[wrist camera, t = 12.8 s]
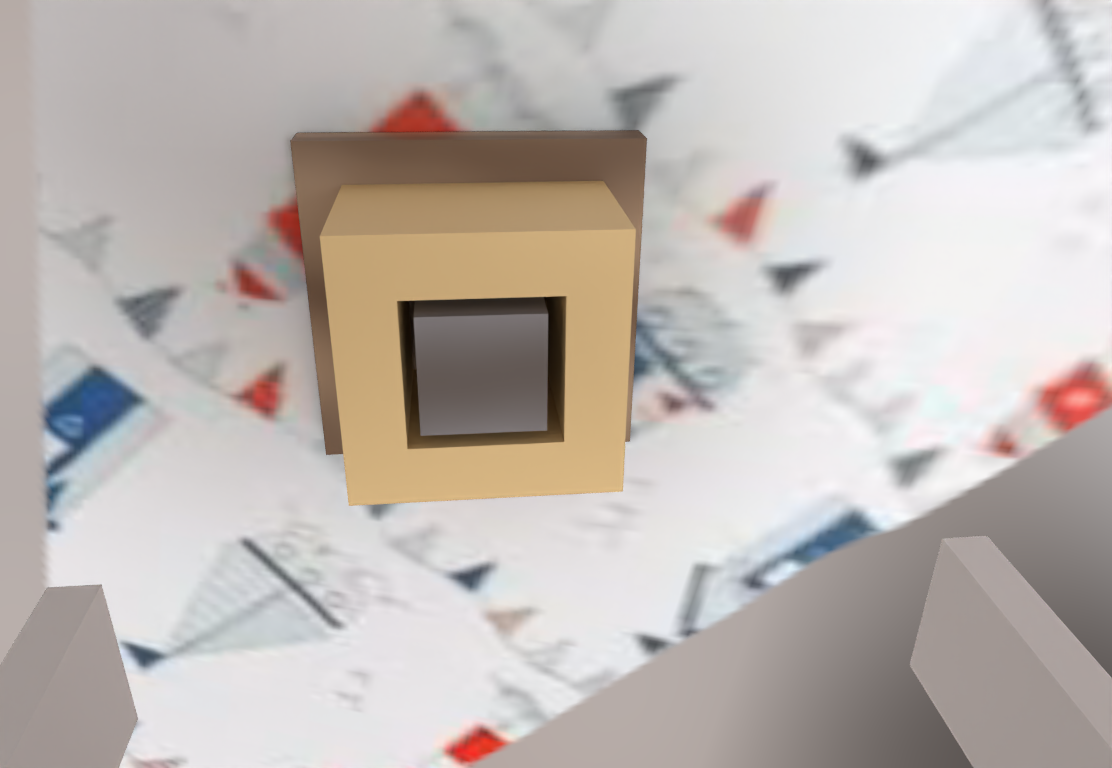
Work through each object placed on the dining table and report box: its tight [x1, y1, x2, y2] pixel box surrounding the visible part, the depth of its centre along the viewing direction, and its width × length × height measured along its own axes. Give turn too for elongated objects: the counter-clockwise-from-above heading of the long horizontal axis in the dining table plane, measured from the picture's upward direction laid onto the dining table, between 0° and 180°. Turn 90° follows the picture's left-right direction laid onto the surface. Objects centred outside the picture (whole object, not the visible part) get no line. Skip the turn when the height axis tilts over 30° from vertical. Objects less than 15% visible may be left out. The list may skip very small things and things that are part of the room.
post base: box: [290, 130, 647, 455], centre depth 31 cm, size 12×12×8 cm
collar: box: [320, 181, 636, 506], centre depth 30 cm, size 9×9×6 cm
